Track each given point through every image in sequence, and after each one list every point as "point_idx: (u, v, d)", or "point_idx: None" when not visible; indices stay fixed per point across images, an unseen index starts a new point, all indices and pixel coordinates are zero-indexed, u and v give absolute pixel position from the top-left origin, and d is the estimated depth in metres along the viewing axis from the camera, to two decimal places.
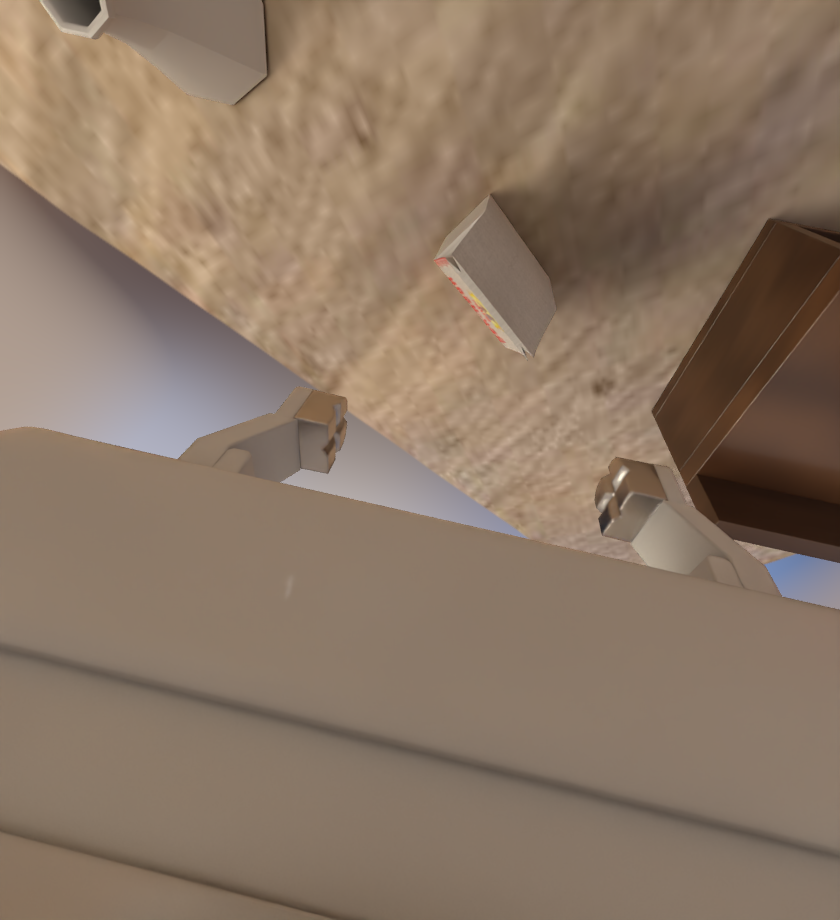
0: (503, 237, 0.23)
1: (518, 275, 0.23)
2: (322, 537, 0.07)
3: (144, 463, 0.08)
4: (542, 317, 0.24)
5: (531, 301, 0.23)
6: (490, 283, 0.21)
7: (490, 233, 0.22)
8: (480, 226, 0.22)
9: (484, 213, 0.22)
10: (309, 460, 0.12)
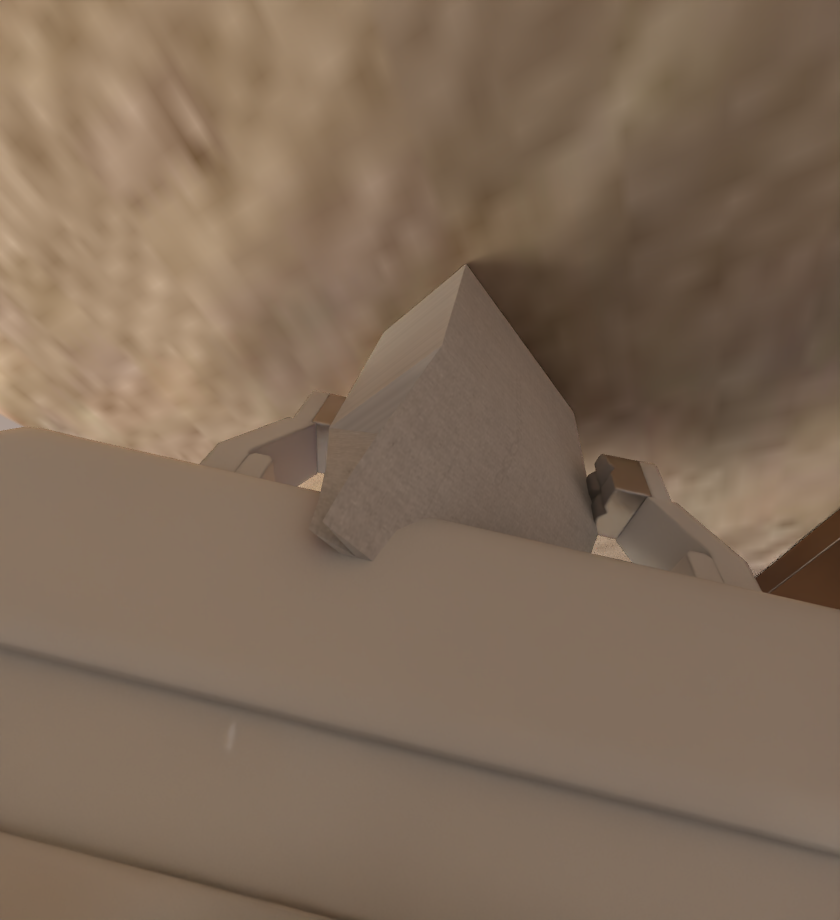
0: (486, 403, 0.09)
1: (519, 489, 0.10)
2: None
3: (144, 463, 0.08)
4: None
5: (546, 542, 0.10)
6: None
7: (453, 403, 0.09)
8: (426, 391, 0.08)
9: (439, 353, 0.09)
10: None
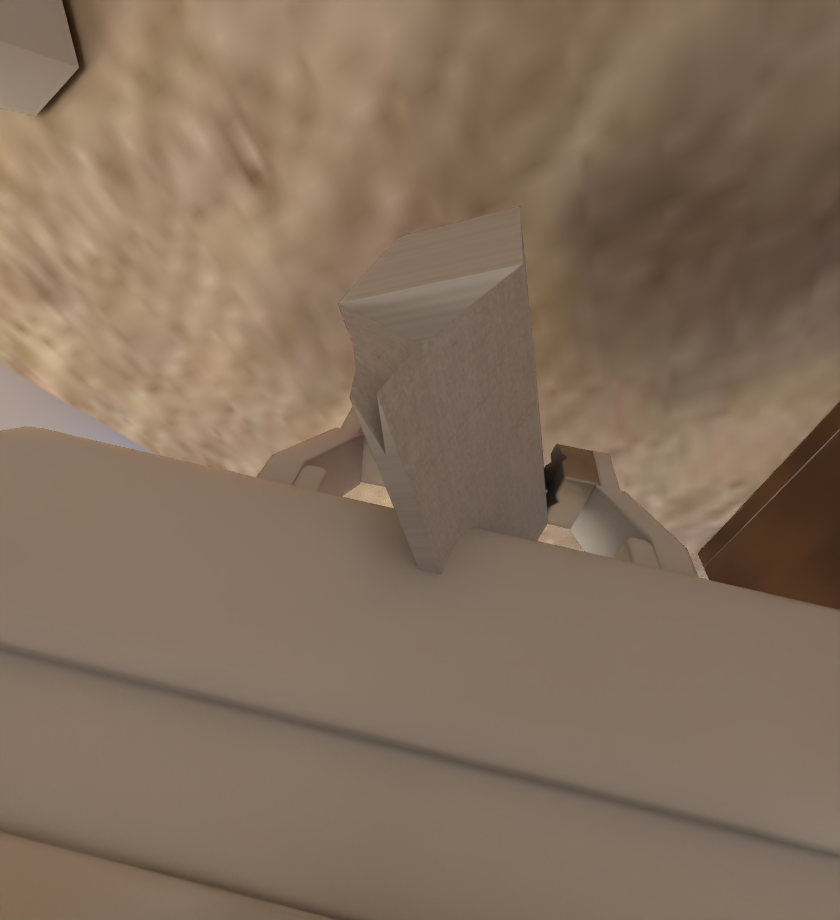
0: (529, 350, 0.08)
1: (519, 452, 0.09)
2: (322, 537, 0.07)
3: (144, 463, 0.08)
4: None
5: (518, 514, 0.10)
6: (456, 482, 0.07)
7: (509, 333, 0.08)
8: (496, 304, 0.07)
9: (518, 271, 0.07)
10: (370, 474, 0.12)
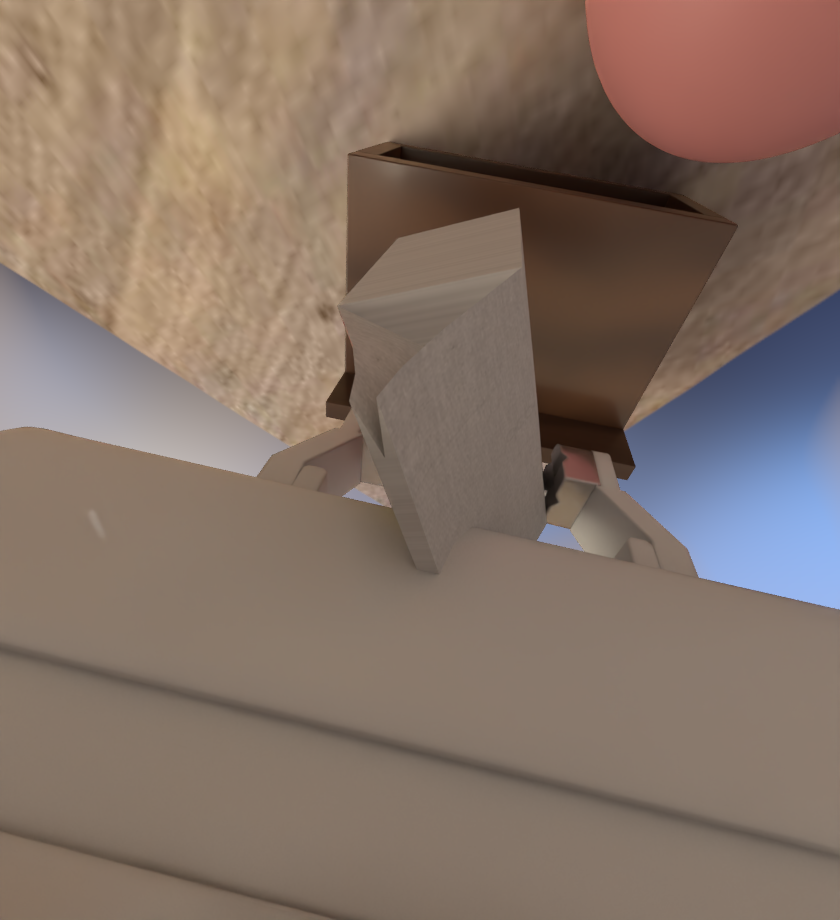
0: (528, 352, 0.08)
1: (518, 454, 0.09)
2: (322, 537, 0.07)
3: (144, 463, 0.08)
4: None
5: (516, 516, 0.10)
6: (454, 484, 0.07)
7: (508, 335, 0.08)
8: (495, 307, 0.07)
9: (517, 274, 0.07)
10: (370, 474, 0.12)
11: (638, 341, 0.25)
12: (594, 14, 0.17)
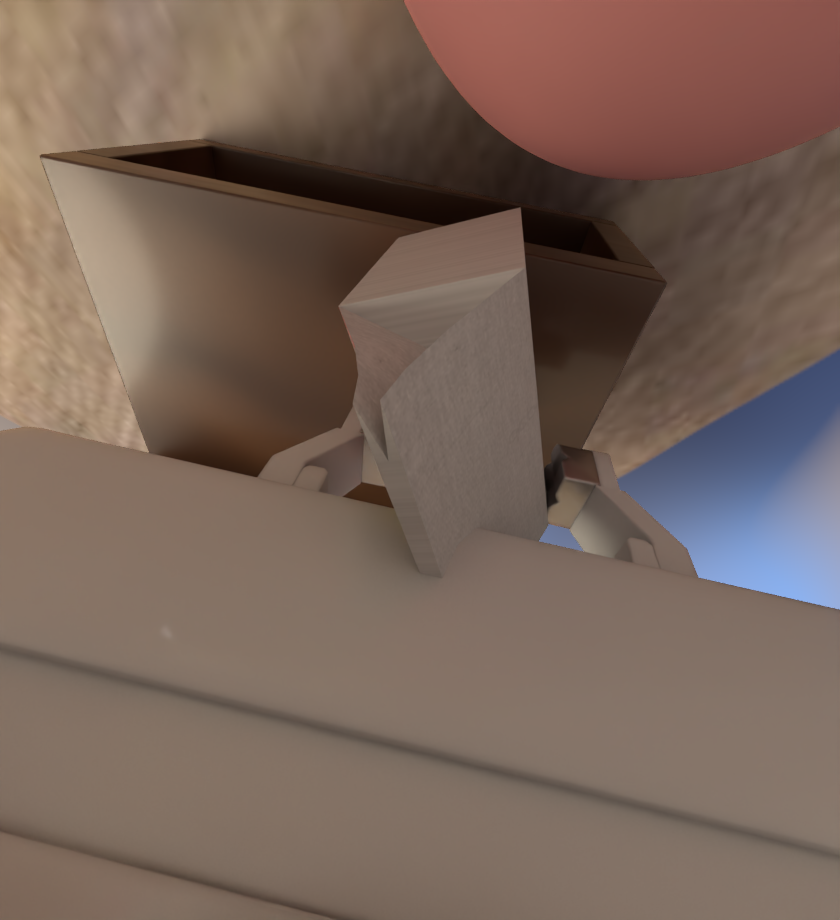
0: (530, 353, 0.08)
1: (520, 455, 0.09)
2: (322, 537, 0.07)
3: (144, 463, 0.08)
4: None
5: (518, 518, 0.10)
6: (457, 487, 0.07)
7: (511, 336, 0.08)
8: (498, 307, 0.07)
9: (520, 274, 0.07)
10: (370, 474, 0.12)
11: None
12: None
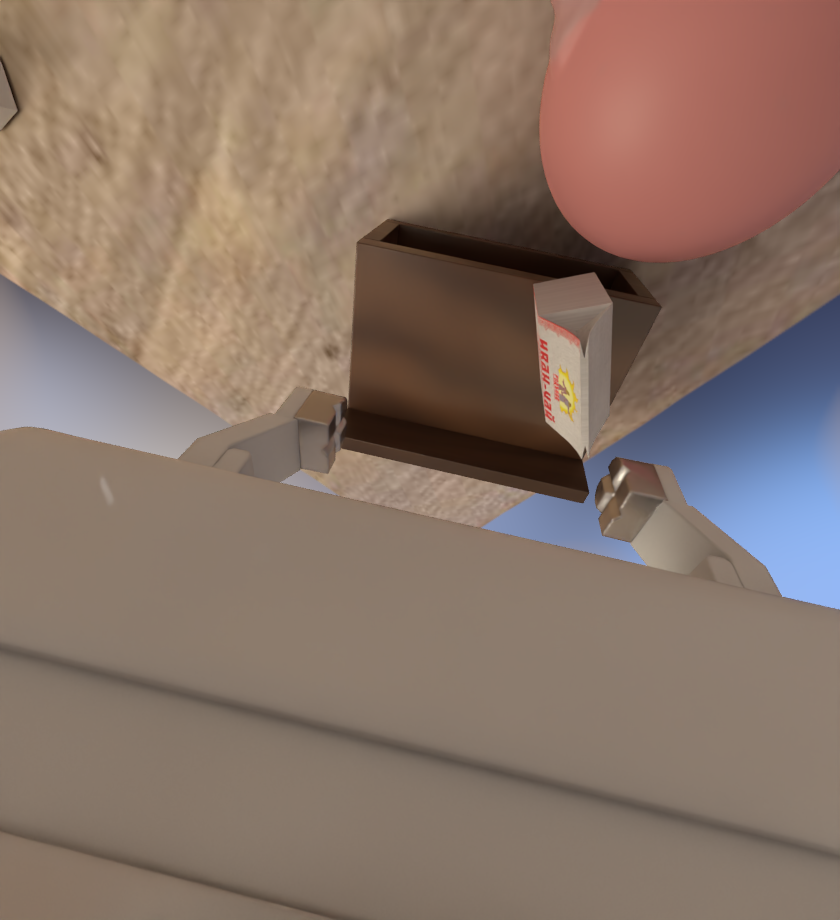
0: (611, 334, 0.22)
1: (605, 374, 0.23)
2: (322, 537, 0.07)
3: (144, 463, 0.08)
4: (601, 420, 0.24)
5: (602, 402, 0.24)
6: (592, 376, 0.21)
7: (607, 326, 0.22)
8: (605, 316, 0.21)
9: (611, 305, 0.21)
10: (309, 460, 0.12)
11: None
12: (545, 158, 0.23)
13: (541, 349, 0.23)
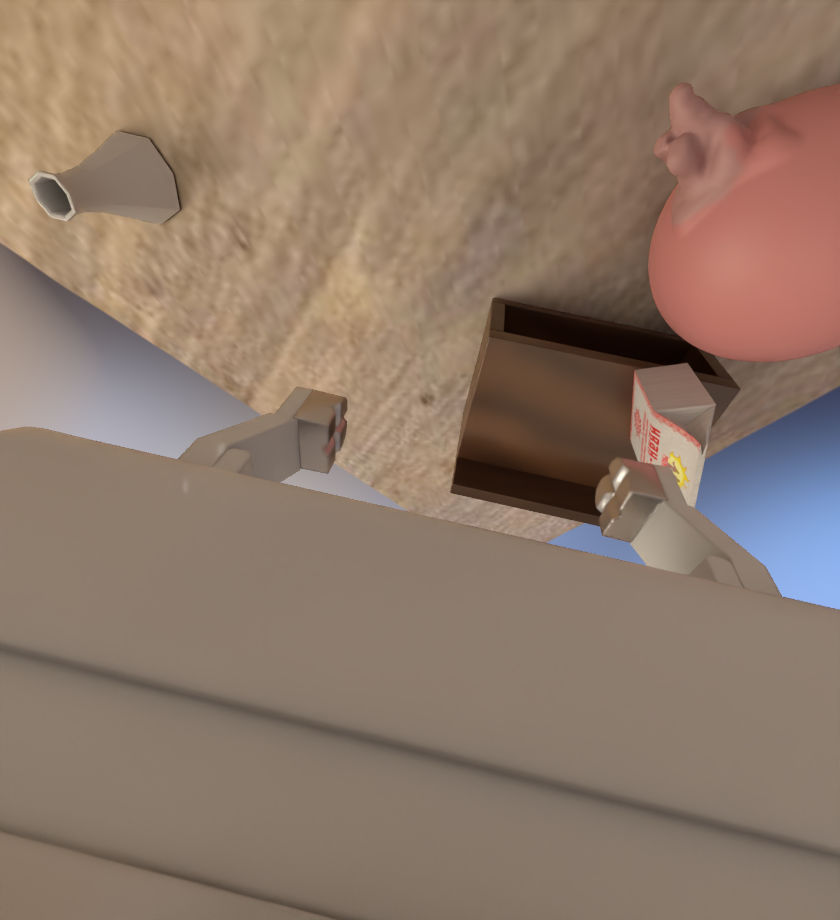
0: (711, 425, 0.29)
1: None
2: (322, 537, 0.07)
3: (144, 463, 0.08)
4: None
5: None
6: None
7: (711, 422, 0.28)
8: (711, 416, 0.27)
9: None
10: (309, 460, 0.12)
11: None
12: (657, 283, 0.29)
13: (652, 433, 0.30)
